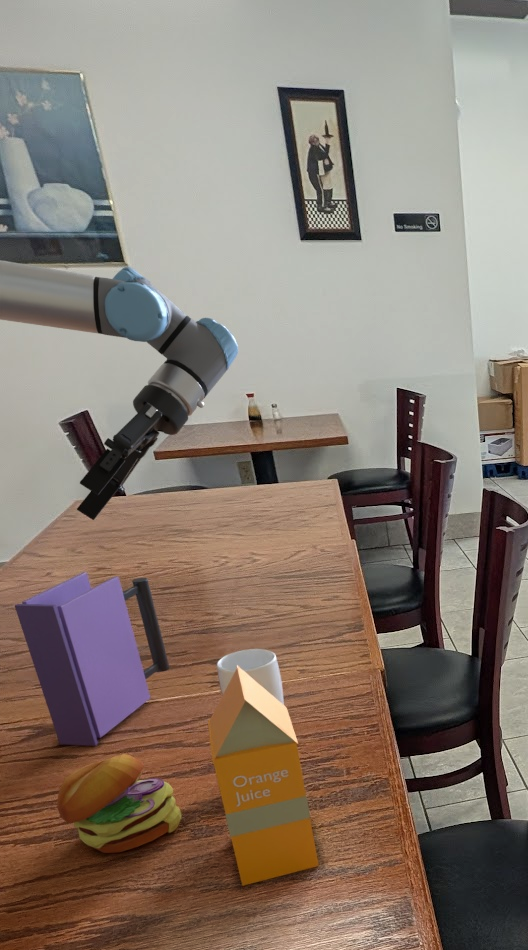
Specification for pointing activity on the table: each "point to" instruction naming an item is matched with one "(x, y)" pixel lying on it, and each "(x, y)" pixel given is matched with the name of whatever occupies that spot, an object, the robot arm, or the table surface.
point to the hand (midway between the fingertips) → (86, 502)
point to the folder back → (57, 660)
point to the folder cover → (112, 649)
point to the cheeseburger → (117, 805)
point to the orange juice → (261, 782)
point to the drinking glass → (253, 670)
